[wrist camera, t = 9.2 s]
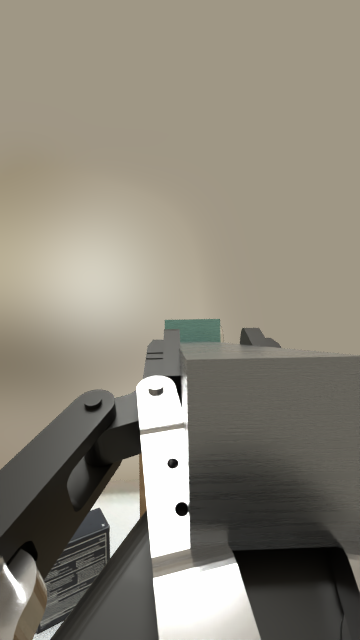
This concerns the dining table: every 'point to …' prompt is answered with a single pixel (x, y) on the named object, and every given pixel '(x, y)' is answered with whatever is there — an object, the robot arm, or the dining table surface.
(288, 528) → the bar
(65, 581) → the small box
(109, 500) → the dining table surface
